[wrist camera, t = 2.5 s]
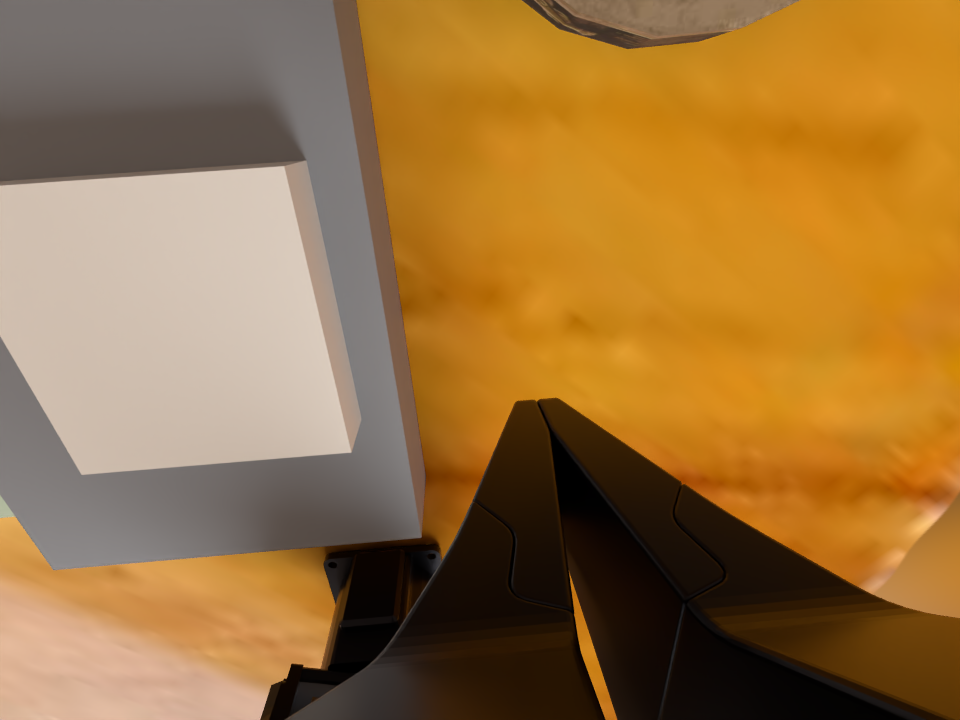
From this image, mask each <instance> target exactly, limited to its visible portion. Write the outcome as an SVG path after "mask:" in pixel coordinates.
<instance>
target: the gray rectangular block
mask: <svg viewBox="0 0 960 720" xmlns="http://www.w3.org/2000/svg"><path fill="white" fill-rule="evenodd" d="M304 160H306V161H307V166H308V171H309V175H310V180H311V185H312V189H313V194H314V199H315V203H316V208H317V213H318V217H319V222H320V227H321V231H322V236H323V241H324V245H325V250H326V255H327V260H328V264H329V269H330V274H331V278H332V283H333V288H334V292H335V297H336V302H337V306H338V311H339V316H340V320H341V325H342V330H343V334H344V339H345V344H346V349H347V353H348V358H349V363H350V367H351V372H352V377H353V381H354V386H355V391H356V395H357V400H358V405H359V409H360V414H361V422H360V426H359V429H358V432H357V436H356V439H355V442H354V446H353V449H352V452H351V453H340V454H327V455H315V456H303V457H291V458H279V459H267V460H255V461H243V462H231V463H219V464H207V465H195V466H183V467H171V468H159V469H147V470H135V471H123V472H111V473H99V474H87V475H81V473H80V471H79V470H78V468H77V466H76V464H75V463H74V461H73V459H72V458H71V456H70V454H69V453H68V451H67V449H66V447H65V446H64V444H63V442H62V441H61V439H60V437H59V436H58V434H57V432H56V430H55V429H54V427H53V425H52V424H51V422H50V420H49V419H48V417H47V415H46V413H45V412H44V410H43V408H42V407H41V405H40V403H39V401H38V400H37V398H36V396H35V395H34V393H33V391H32V390H31V388H30V386H29V384H28V383H27V381H26V379H25V378H24V376H23V374H22V373H21V371H20V369H19V367H18V366H17V364H16V362H15V361H14V359H13V357H12V356H11V354H10V352H9V350H8V349H7V347H6V345H5V344H4V342H3V340H2V338H1V337H0V495H1V497H2V498H3V500H4V501H5V503H6V504H7V505H8V507H9V508H10V510H11V511H12V512H13V514H14V515H15V517H16V518H17V519H18V521H19V522H20V524H21V525H22V526H23V528H24V529H25V531H26V532H27V534H28V535H29V536H30V538H31V539H32V541H33V542H34V543H35V545H36V546H37V548H38V549H39V550H40V552H41V553H42V555H43V556H44V557H45V559H46V560H47V562H48V563H49V564H50V566H51V567H52V569H53V570H60V569H72V568H83V567H94V566H106V565H117V564H129V563H140V562H152V561H163V560H174V559H186V558H197V557H209V556H220V555H232V554H243V553H254V552H266V551H277V550H289V549H300V548H311V547H323V546H334V545H346V544H357V543H369V542H380V541H391V540H403V539H414V538H422V524H423V509H424V495H425V481H426V474H425V468H424V461H423V454H422V447H421V440H420V434H419V427H418V420H417V413H416V406H415V399H414V393H413V386H412V379H411V372H410V365H409V359H408V352H407V345H406V338H405V331H404V325H403V318H402V311H401V304H400V297H399V290H398V284H397V277H396V270H395V263H394V256H393V250H392V243H391V236H390V229H389V222H388V215H387V209H386V202H385V195H384V188H383V181H382V175H381V168H380V161H379V154H378V147H377V141H376V134H375V127H374V120H373V113H372V106H371V100H370V93H369V86H368V79H367V72H366V66H365V59H364V52H363V45H362V38H361V31H360V25H359V18H358V11H357V4H356V0H0V181H12V180H26V179H41V178H56V177H70V176H85V175H99V174H114V173H129V172H143V171H158V170H172V169H187V168H202V167H216V166H231V165H245V164H260V163H275V162H289V161H304Z"/></svg>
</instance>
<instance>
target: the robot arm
mask: <svg viewBox="0 0 960 720" xmlns="http://www.w3.org/2000/svg"><path fill="white" fill-rule="evenodd" d="M430 553H433V554H430ZM324 568H325V572H326V575H327V578H328V581H329V584H330V588H331V591H332V594H333V597H334V600H335V604H336V607H335V611H334V615H333V619H332V624H331V628H330V632H329V636H328V640H327V645H326V649H325V653H324V657H323V661H322V666H321V669H316V668H307V667H303V665H301V664H291V668H290V671H289V674H288V677H287V679H284V680H283V681H281V682H278V683H276V684H273V685H271V688H270V691H269V695H268V698H267V701H266V704H265V707H264V710H263V713H262V716H261V719H260V720H605V717H604V715H603V712H602V709H601V707H600V704H599V701H598V698H597V696H596V693H595V690H594V687H593V685H592V682H591V679H590V676H589V674H588V671H587V668H586V666H585V663H584V660H583V657H582V654H581V651H580V646H579V641H578V635H577V629H576V622H575V617H574V607H573V599H572V592H571V584H570V576H569V572H570V575H571V578H572V581H573V584H574V587H575V590H576V593H577V596H578V600H579V603H580V606H581V609H582V612H583V615H584V618H585V621H586V624H587V627H588V630H589V633H590V636H591V640H592V643H593V646H594V649H595V652H596V655H597V658H598V661H599V664H600V667H601V670H602V673H603V676H604V680H605V683H606V686H607V689H608V692H609V695H610V698H611V701H612V704H613V707H614V710H615V713H616V716H617V720H960V618H954V617H948V616H941V615H935V614H930V613H924V612H921V611H917V610H913V609H909V608H906V607H903V606H900V605H897V604H894V603H891V602H888V601H886V600H884V599H882V598H879V597H877V596H875V595H872V594H870V593H868V592H866V591H865V590H863V589H861V588H859V587H857V586H855V585H853V584H851V583H850V582H848V581H846V580H844V579H843V578H841V577H839V576H837V575H836V574H834V573H832V572H830V571H829V570H827V569H825V568H823V567H821V566H820V565H818V564H816V563H814V562H813V561H811V560H809V559H807V558H806V557H804V556H802V555H800V554H799V553H797V552H795V551H793V550H792V549H790V548H788V547H786V546H784V545H783V544H781V543H779V542H777V541H776V540H774V539H772V538H770V537H769V536H767V535H765V534H763V533H762V532H760V531H758V530H757V529H755V528H753V527H752V526H750V525H748V524H746V523H745V522H743V521H741V520H740V519H738V518H736V517H735V516H733V515H731V514H730V513H728V512H727V511H725V510H723V509H722V508H720V507H719V506H717V505H716V504H714V503H713V502H711V501H710V500H708V499H706V498H705V497H703V496H702V495H700V494H699V493H697V492H696V491H694V490H693V489H692V488H690V487H689V486H687V485H686V484H683V485H682V483H681V481H679V480H678V479H677V478H675V477H674V476H672V475H671V474H669V473H668V472H666V471H665V470H663V469H662V468H660V467H659V466H657V465H656V464H654V463H653V462H651V461H650V460H649V459H647V458H646V457H644V456H643V455H641V454H640V453H638V452H637V451H635V450H634V449H632V448H631V447H629V446H628V445H626V444H625V443H624V442H622V441H621V440H619V439H618V438H616V437H615V436H613V435H612V434H610V433H609V432H607V431H606V430H604V429H603V428H601V427H600V426H598V425H597V424H596V423H594V422H593V421H591V420H590V419H588V418H587V417H585V416H584V415H582V414H581V413H579V412H578V411H576V410H575V409H573V408H572V407H571V406H569V405H568V404H566V403H565V402H563V401H562V400H560V399H558V398H548V399H540V400H538V401H537V402H536V401H535V400H523V401H517V402H515V404H514V406H513V408H512V411H511V413H510V415H509V418H508V420H507V422H506V425H505V427H504V429H503V432H502V434H501V436H500V438H499V441H498V443H497V445H496V448H495V450H494V452H493V455H492V457H491V459H490V462H489V464H488V466H487V468H486V471H485V473H484V475H483V478H482V480H481V482H480V485H479V487H478V489H477V492H476V494H475V496H474V499H473V502H472V503H471V505H470V507H469V509H468V512H467V514H466V516H465V519H464V521H463V523H462V525H461V527H460V529H459V531H458V533H457V535H456V537H455V539H454V541H453V543H452V544H451V546H450V548H449V550H448V551H447V553H446V555H445V556H444V558H443V560H442V557H441V550H440V548H439V547H438V546H437V545H432V544H430V545H419V546H407V547H396V548H384V549H373V550H362V551H350V552H339V553H331V554H328V555H327V556H326V557H325V561H324Z"/></svg>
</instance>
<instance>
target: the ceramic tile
mask: <svg viewBox="0 0 960 720" xmlns="http://www.w3.org/2000/svg"><path fill="white" fill-rule="evenodd" d="M0 337H1V338H2V340H3V342H4V344H5V345H6V347H7V349H8V350H9V352H10V354H11V356H12V357H13V359H14V361H15V362H16V364H17V366H18V367H19V369H20V371H21V373H22V374H23V376H24V378H25V379H26V381H27V383H28V384H29V386H30V388H31V390H32V391H33V393H34V395H35V396H36V398H37V400H38V401H39V403H40V405H41V407H42V408H43V410H44V412H45V413H46V415H47V417H48V419H49V420H50V422H51V424H52V425H53V427H54V429H55V430H56V432H57V434H58V436H59V437H60V439H61V441H62V442H63V444H64V446H65V447H66V449H67V451H68V453H69V454H70V456H71V458H72V459H73V461H74V463H75V464H76V466H77V468H78V470H79V471H80V473H81V475H87V474H99V473H111V472H123V471H135V470H147V469H159V468H171V467H183V466H195V465H207V464H219V463H231V462H243V461H255V460H267V459H279V458H291V457H303V456H315V455H327V454H340V453H351V452H352V449H353V446H354V442H355V439H356V436H357V432H358V429H359V426H360V422H361V414H360V409H359V405H358V400H357V395H356V391H355V386H354V381H353V377H352V372H351V367H350V363H349V358H348V353H347V349H346V344H345V339H344V334H343V330H342V325H341V320H340V316H339V311H338V306H337V302H336V297H335V292H334V288H333V283H332V278H331V274H330V269H329V264H328V260H327V255H326V250H325V245H324V241H323V236H322V231H321V227H320V222H319V217H318V213H317V208H316V203H315V199H314V194H313V189H312V185H311V180H310V175H309V171H308V166H307V161H306V160H304V161H289V162H275V163H260V164H245V165H231V166H216V167H202V168H187V169H172V170H158V171H143V172H129V173H114V174H99V175H85V176H70V177H56V178H41V179H26V180H12V181H0Z"/></svg>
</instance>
